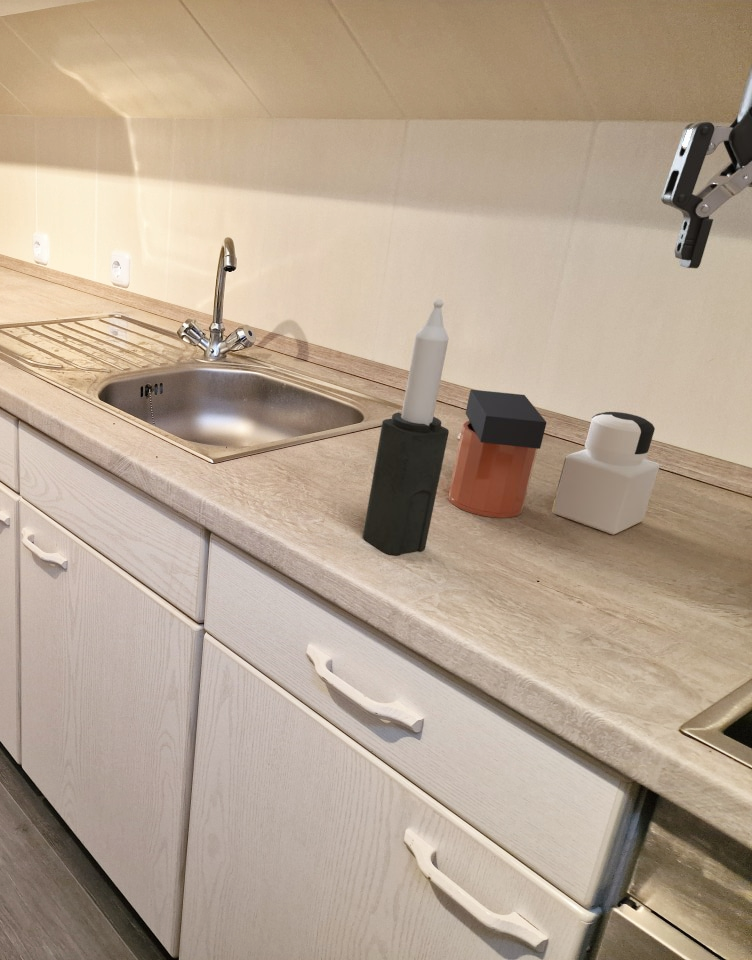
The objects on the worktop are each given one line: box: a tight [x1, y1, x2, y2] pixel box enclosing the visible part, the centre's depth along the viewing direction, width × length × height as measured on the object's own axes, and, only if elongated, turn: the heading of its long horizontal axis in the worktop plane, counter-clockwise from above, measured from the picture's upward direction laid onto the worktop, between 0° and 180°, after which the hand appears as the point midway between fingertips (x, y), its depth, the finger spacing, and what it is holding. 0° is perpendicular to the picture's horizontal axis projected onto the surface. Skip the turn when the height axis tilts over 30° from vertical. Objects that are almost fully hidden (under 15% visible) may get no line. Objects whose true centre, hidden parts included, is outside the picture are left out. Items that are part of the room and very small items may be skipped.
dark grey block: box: [465, 389, 548, 450], centre depth 95 cm, size 6×11×3 cm, turn 167°
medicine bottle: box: [551, 411, 660, 536], centre depth 94 cm, size 7×7×12 cm
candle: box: [362, 298, 450, 556], centre depth 83 cm, size 5×5×25 cm
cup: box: [448, 420, 539, 519], centre depth 97 cm, size 8×8×9 cm
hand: (749, 271), depth 66 cm, fingers open, 8 cm apart
